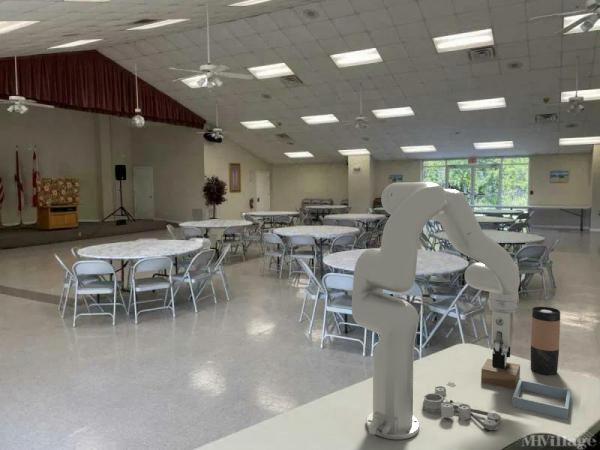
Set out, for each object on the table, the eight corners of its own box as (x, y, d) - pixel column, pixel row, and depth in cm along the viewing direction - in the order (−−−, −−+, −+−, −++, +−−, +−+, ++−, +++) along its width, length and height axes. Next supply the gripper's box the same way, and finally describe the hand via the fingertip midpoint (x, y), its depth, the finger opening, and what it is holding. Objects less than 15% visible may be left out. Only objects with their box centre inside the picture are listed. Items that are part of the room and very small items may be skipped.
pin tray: (567, 422, 113) (567, 409, 112) (512, 409, 119) (512, 396, 119) (569, 402, 123) (570, 389, 123) (518, 391, 130) (519, 379, 130)
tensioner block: (514, 392, 129) (515, 375, 128) (481, 385, 134) (481, 368, 133) (519, 381, 136) (520, 364, 136) (487, 374, 141) (487, 358, 141)
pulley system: (453, 442, 107) (510, 430, 110) (452, 423, 106) (509, 411, 110) (401, 394, 133) (448, 385, 136) (400, 378, 133) (447, 370, 136)
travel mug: (563, 375, 140) (566, 311, 138) (546, 380, 136) (549, 314, 134) (540, 366, 146) (543, 305, 145) (524, 371, 143) (526, 308, 141)
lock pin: (506, 383, 132) (507, 349, 132) (492, 380, 134) (493, 347, 133) (508, 379, 136) (509, 346, 135) (495, 376, 137) (496, 343, 136)
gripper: (512, 313, 124) (510, 375, 125) (521, 299, 138) (519, 354, 140) (483, 309, 128) (481, 369, 129) (494, 296, 142) (493, 350, 144)
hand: (501, 361), depth 134 cm, fingers open, 9 cm apart
